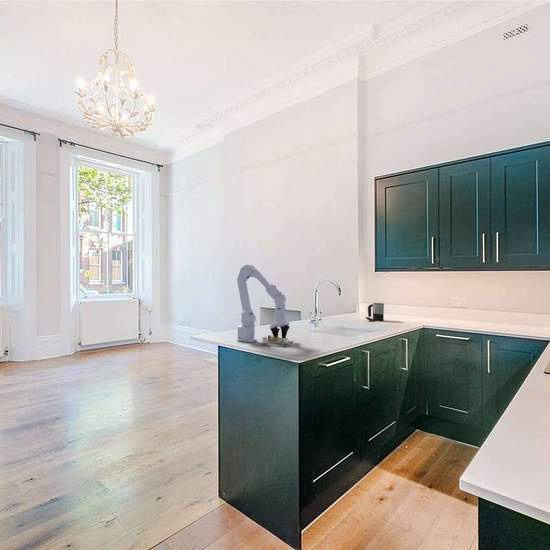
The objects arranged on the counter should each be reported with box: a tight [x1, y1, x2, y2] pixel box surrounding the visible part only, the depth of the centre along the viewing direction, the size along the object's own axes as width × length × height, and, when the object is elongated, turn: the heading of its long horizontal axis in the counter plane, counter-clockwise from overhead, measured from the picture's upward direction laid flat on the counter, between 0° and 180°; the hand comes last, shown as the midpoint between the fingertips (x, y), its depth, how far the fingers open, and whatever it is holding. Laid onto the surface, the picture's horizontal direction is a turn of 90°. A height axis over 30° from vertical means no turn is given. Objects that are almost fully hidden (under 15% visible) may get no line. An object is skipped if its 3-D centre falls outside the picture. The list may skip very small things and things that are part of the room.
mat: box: [260, 339, 294, 348], centre depth 199 cm, size 15×16×1 cm
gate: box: [267, 334, 284, 344], centre depth 198 cm, size 10×1×3 cm, turn 50°
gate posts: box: [261, 336, 289, 346], centre depth 194 cm, size 14×3×4 cm, turn 86°
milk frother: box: [365, 302, 385, 322], centre depth 298 cm, size 14×16×15 cm
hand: (279, 339), depth 203 cm, fingers open, 6 cm apart
